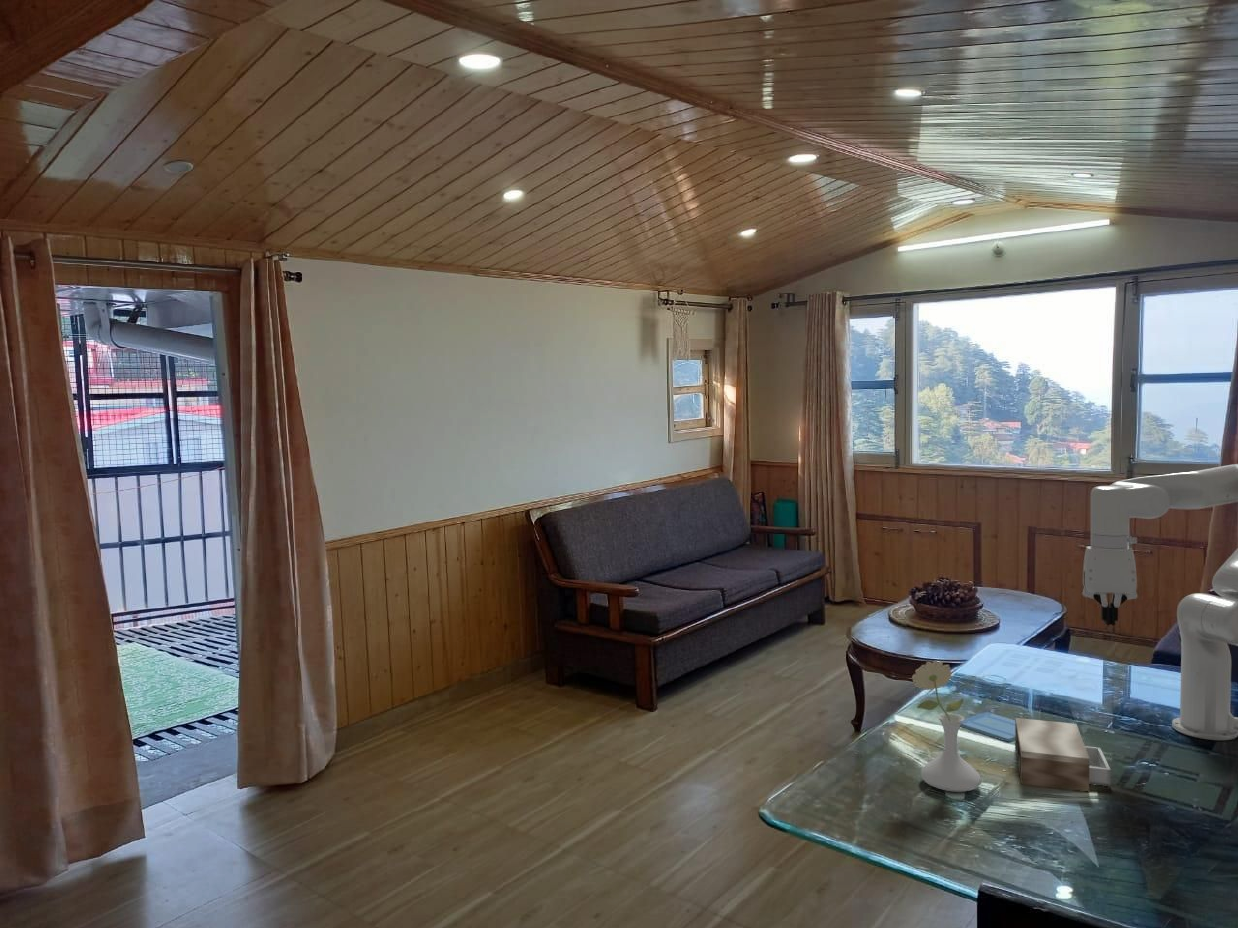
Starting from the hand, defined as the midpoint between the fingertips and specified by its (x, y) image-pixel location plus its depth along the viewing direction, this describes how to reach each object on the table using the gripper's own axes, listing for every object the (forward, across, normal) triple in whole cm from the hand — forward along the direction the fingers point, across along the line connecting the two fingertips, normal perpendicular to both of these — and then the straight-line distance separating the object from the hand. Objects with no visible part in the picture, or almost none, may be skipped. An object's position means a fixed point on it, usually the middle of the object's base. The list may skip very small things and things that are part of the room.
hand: (1109, 623), depth 196 cm
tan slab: (+26, +15, +20) cm, 36 cm away
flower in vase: (+26, +35, +35) cm, 56 cm away
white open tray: (+26, +12, +21) cm, 35 cm away
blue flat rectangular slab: (+27, +23, -2) cm, 36 cm away
